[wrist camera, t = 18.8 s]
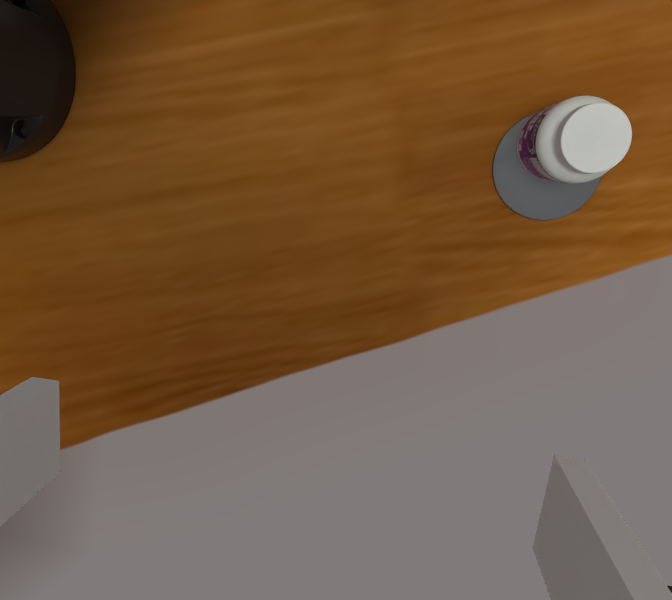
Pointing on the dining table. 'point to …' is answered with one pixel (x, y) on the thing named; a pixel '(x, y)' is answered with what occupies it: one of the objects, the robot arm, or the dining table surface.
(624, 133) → the pill bottle
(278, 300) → the dining table surface
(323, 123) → the dining table surface
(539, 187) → the coaster
